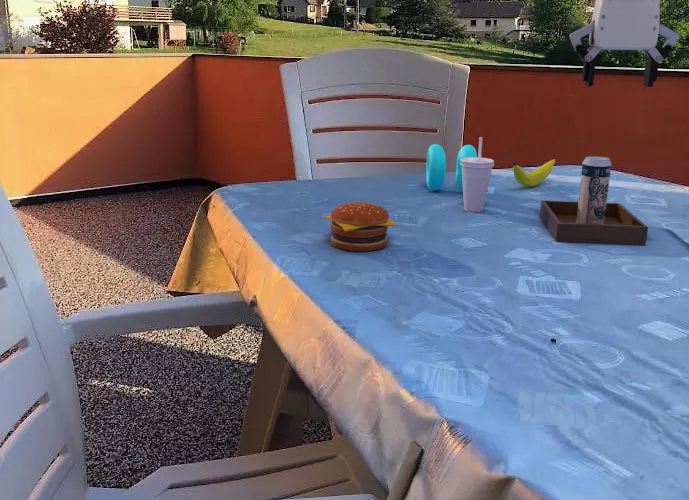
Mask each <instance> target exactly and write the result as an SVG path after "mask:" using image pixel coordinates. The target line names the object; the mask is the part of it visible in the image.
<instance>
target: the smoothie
mask: <svg viewBox="0 0 689 500" xmlns="http://www.w3.org/2000/svg"><path fill="white" fill-rule="evenodd" d="M478 139H479V140H478V151H477V152H478V153H477V157H468V158H462V159H461V160H460V165H462V182H463V190H462V196H463V211H466V212H470V213H471V212H472V213H480V211H481V212H483V211H484V209H485V204H486V199H487V194H488V189H489V184H490V179H491V175H492V170H493V167H495V160H494V159H492V158H487V157H482V150H483V136H480V137H479V138H478Z"/></svg>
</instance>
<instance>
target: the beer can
mask: <svg viewBox="0 0 689 500" xmlns="http://www.w3.org/2000/svg"><path fill="white" fill-rule="evenodd" d="M581 164H582V165H581V175H580V184H579V193H578V201H577V202H578V209H577V218H576V223H580V224H604V219H605V211H606V203H608V196H609V195H608V194H609V187H610V180H611V179H610V177H611V171H612V170H611V169H612V165H613V164H612V162H611V159H610V158H609V157H606V156H601V155H600V156H598V155H588V156H585V158H584V160H583V161H582V163H581Z"/></svg>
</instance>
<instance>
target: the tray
mask: <svg viewBox="0 0 689 500" xmlns="http://www.w3.org/2000/svg"><path fill="white" fill-rule="evenodd" d="M577 209H578V201H569V200H567V201H566V200H565V201H564V200H542V199H541V200H540V207H539V218H540V219H541V221H542V223H543V224H544V226H545V228H546V229H547V230H548V232H549V233H550V235H551V236H552V238H553V240H554V241H555V242H557V243H581V244H601V245H602V244H603V245H622V244H627V245H626V246H646V245H647V238H648V231H649V226H648V225H646V224H645V223H644V222H643V221H641V220H640V219H639V218H638V217H636V216H635V214H633V213H632V212H631V211H630V210H628V209H627V207H625V206H624V205H623V204H621V202H607V203H606V211H605V219H604V224H580V223H576V218H577Z"/></svg>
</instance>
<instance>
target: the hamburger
mask: <svg viewBox="0 0 689 500" xmlns="http://www.w3.org/2000/svg"><path fill="white" fill-rule="evenodd" d="M322 219H323V220H324V219H327V220H329V221H331V224H330V231H331V236H330V244H331V246H333V247H335V248H337V249H340V250H343V249H344V251H348V250H349V252H372V250H373V251H378V250H382V249H383V248H386V246H387V244H388V236H387V232H388V229H389V227H397V224H396V222H394V220H393V219H391V218H390V214H389V211H388V210H386V209H385V208H384V207H382V206H380V205H377V204H375V203H372V202H366V201H352V202H347V203H343V204H339V205H337V206H336V207H334V208H333V210H332V211H331V213H330V215H325V216H323V217H322Z"/></svg>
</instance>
